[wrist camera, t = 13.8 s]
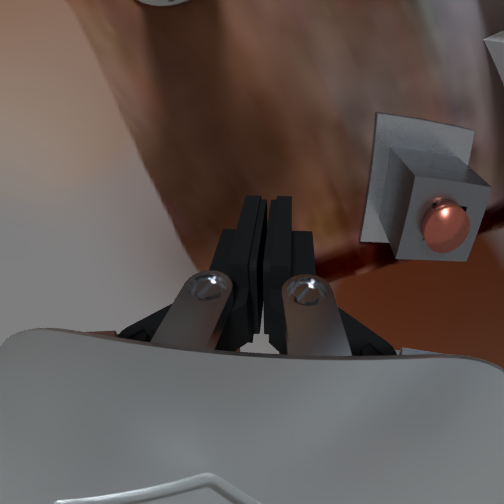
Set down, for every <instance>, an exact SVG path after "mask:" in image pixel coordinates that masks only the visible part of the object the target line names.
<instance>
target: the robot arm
mask: <svg viewBox="0 0 504 504" xmlns="http://www.w3.org/2000/svg"><path fill="white" fill-rule="evenodd" d="M138 1H140V2H142V3H145V4H149V5H153V6H174V5H179V4H182V3H186V2H188V1H190V0H174V1H172V0H138ZM263 301H264V334H269V343H270V344H271V345H272V346H273V347H275V348H276V349H277V350H278V351H279V354H261V353H248V352H240V347H241V346H243V345H245V344H246V343H248V342H250V343H252V342H253V335H254V334H259V333H260V326H261V318H262V309H263ZM0 504H504V370H503V369H502V368H500V367H498V366H497V365H495V364H492V363H490V362H488V361H484V360H481V359H477V358H474V357H468V356H461V355H448V354H441V353H434V352H427V351H421V350H415V349H408V348H402V349H401V351H398V350H394V348H393V347H392V346H391V345H390V344H389V343H388V342H387V341H385V340H384V339H382V338H381V337H380V336H378V335H377V334H375V333H374V332H373V331H371V330H370V329H368V328H367V327H365V326H364V325H363V324H361V323H360V322H358V321H357V320H356V319H354V318H353V317H351V316H350V315H349V314H347V313H345V312H344V311H343V310H342V309H340V308H339V307H338V306H337V304H336V300H335V297H334V294H333V291H332V288H331V287H330V285H329V283H327V282H326V281H325V280H324V279H322V278H320V277H318V276H316V273H315V260H314V247H313V235H312V231H292V197H291V196H277V200H271V205H270V213H269V221H268V228H267V200H261V196H246V197H245V201H244V204H243V208H242V211H241V215H240V219H239V222H238V226H237V229H223V231H222V234H221V237H220V239H219V242H218V245H217V248H216V251H215V254H214V257H213V260H212V263H211V267H210V270H209V271H203V272H199V273H197V274H195V275H193V276H192V277H190V278H189V279H188V280H187V281H186V282H185V284H184V286H183V287H182V289H181V291H180V292H179V294H178V296H177V297H176V299H175V301H174V302H173V304H171V305H169V306H167V307H165V308H163V309H161V310H159V311H157V312H155V313H153V314H151V315H150V316H148V317H146V318H144V319H142V320H140V321H138V322H136V323H134V324H133V325H131V326H129V327H127V328H125V329H124V330H123V331H121V333H120V334H117V333H116V331H96V332H81V331H74V330H68V329H58V328H36V329H31V330H25V331H21V332H19V333H16V334H14V335H12V336H10V337H9V338H8V339H6V340H5V341H4V342H3V343H2V345H1V346H0Z"/></svg>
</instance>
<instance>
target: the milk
mask: <svg viewBox="0 0 504 504" xmlns="http://www.w3.org/2000/svg"><path fill="white" fill-rule="evenodd" d="M484 42H485V44H486V46H487V48H488V50H489V52H490V55H491V57H492V59H493V61H494V63H495V66H496V68H497V70H498V73H499V75H500V78H501V80H502V83H503V85H504V30H503V31H500V32H498V33H496V34H494V35H492V36H490V37H488V38H486V39H484Z"/></svg>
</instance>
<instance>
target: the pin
mask: <svg viewBox="0 0 504 504" xmlns="http://www.w3.org/2000/svg"><path fill="white" fill-rule="evenodd" d="M469 230H470V220H469V217H468V215H467V214H466V213H465V211H464V210H463V209H462V208H461V206H460V205H459V204H457V203H456V202H453V201H441V202H438V203H433V205H432V207H431V208H430V209H429V210H428V211H427V212H426V213H425V215H424V217H423V219H422V222H421V234H422V236H423V238H424V240H425V242H426V243H427V245H428V247H429V248H430V249H431V250H433V251H435V252H438V253H447V252H450V251H453V250H455V249H456V248H458V247H459V246H460V245H461V244H462V243H463V242H464V241H465V239H466V237H467V236H468V233H469Z"/></svg>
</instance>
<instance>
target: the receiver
mask: <svg viewBox="0 0 504 504" xmlns="http://www.w3.org/2000/svg"><path fill="white" fill-rule="evenodd" d="M474 132H475V131H473V130H472V129H468V128H464V127H460V126H456V125H451V124H446V123H441V122H436V121H431V120H426V119H420V118H414V117H408V116H402V115H395V114H388V113H380V112H376V113H375V125H374V135H373V145H372V154H371V163H370V171H369V178H368V186H367V193H366V199H365V206H364V212H363V218H362V224H361V230H360V235H359V239H360V241H362V242H383V243H389V244H390V246H391V249H392V251H393V254H394V256H395V259H411V260H439V261H467V258H468V255H469V253H470V251H471V248H472V246H473V243H474V240H475V238H476V235H477V232H478V229H479V227H480V224H481V221H482V218H483V215H484V212H485V209H486V205H487V202H488V199H489V195H490V192H491V189H492V187H491V186H490V185H489V184H488V183H487V182H486V181H484V180H483V179H482V178H481V177H480V176H479V175H478V174H477V173H476V172H475V171H473V170H472V169H471V168H470V167H469V166H468V162H469V158H470V153H471V148H472V143H473V137H474ZM441 201H453V202H456V203H457V204H459V205H460V206H461V208H462V209H463V210H464V211H465V213H466V214H467V215H468V217H469V220H470V230H469V233H468V236H467V237H466V239H465V241H464V242H463V243H462V244H461V245H460V246H459V247H458V248H456V249H455V250H453V251H450V252H447V253H438V252H435V251H433V250H431V249H430V248H429V247H428V245H427V243H426V242H425V240H424V238H423V236H422V234H421V222H422V219H423V217H424V215H425V213H426V212H427V211H428V210H429V209H430V208H431V207H432V205H433V203H438V202H441Z"/></svg>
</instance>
